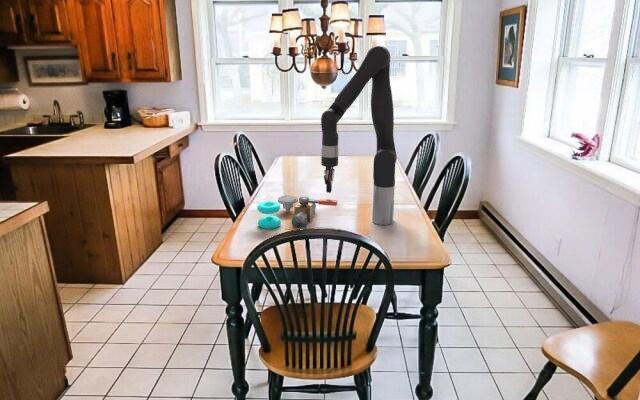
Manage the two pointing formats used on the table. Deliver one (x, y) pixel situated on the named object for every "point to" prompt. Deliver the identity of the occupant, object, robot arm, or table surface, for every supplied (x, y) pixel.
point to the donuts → (269, 208)
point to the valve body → (303, 214)
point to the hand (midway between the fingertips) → (328, 192)
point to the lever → (317, 201)
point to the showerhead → (287, 201)
